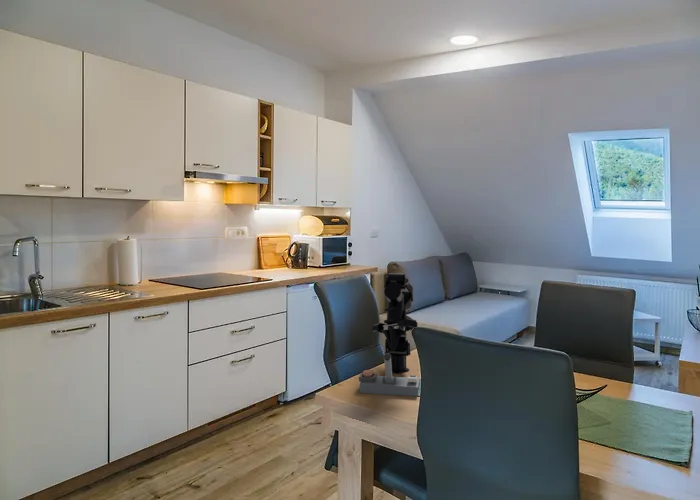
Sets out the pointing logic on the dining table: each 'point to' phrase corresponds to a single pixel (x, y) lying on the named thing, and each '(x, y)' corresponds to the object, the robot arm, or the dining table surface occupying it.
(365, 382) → the panel
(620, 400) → the dining table surface
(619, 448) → the dining table surface
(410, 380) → the rocker switch
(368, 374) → the push button
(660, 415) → the dining table surface
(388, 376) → the toggle lever
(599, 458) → the dining table surface
